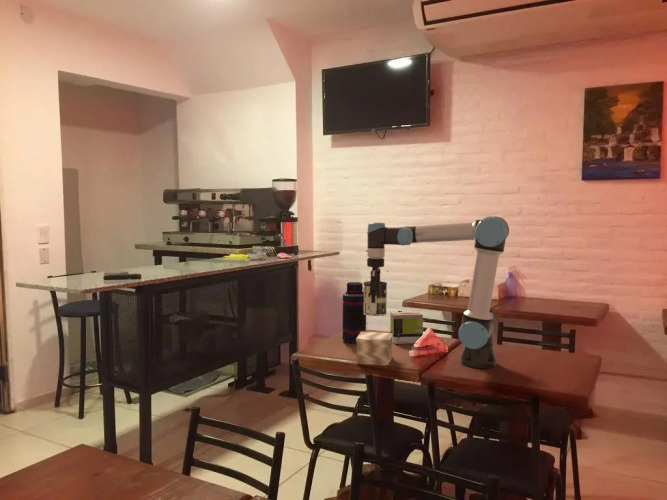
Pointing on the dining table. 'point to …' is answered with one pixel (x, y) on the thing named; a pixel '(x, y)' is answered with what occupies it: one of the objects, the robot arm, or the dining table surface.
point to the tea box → (406, 327)
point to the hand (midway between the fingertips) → (374, 307)
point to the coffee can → (380, 299)
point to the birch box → (374, 348)
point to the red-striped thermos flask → (353, 312)
